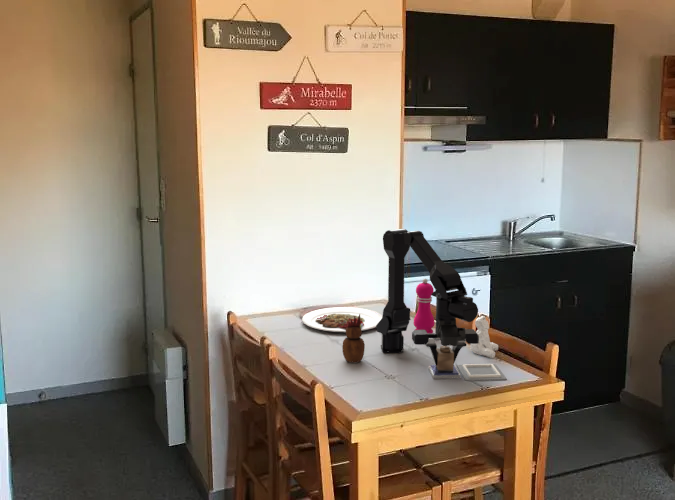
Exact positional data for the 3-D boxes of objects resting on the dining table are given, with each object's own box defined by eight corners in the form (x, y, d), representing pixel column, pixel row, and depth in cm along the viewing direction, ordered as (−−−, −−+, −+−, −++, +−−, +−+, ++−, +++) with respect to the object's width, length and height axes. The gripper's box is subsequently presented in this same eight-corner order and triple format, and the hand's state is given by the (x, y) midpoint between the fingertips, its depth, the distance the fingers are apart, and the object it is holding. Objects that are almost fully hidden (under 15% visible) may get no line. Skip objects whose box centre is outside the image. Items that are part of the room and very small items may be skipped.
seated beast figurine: (494, 358, 224) (496, 322, 222) (466, 355, 227) (468, 319, 225) (498, 349, 233) (500, 313, 230) (472, 346, 236) (473, 311, 233)
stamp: (438, 371, 209) (438, 350, 208) (435, 365, 213) (435, 345, 212) (453, 371, 209) (454, 349, 208) (450, 365, 213) (450, 344, 212)
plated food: (334, 307, 283) (334, 299, 282) (399, 320, 266) (399, 311, 265) (285, 326, 259) (285, 317, 258) (353, 341, 242) (353, 331, 241)
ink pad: (433, 378, 207) (433, 374, 207) (428, 368, 215) (428, 364, 215) (460, 378, 208) (460, 373, 207) (454, 368, 216) (455, 364, 215)
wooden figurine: (366, 359, 224) (367, 312, 221) (361, 365, 218) (361, 317, 215) (346, 356, 226) (346, 310, 223) (340, 362, 220) (340, 315, 218)
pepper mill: (410, 336, 246) (411, 279, 242) (416, 330, 252) (417, 275, 248) (431, 339, 243) (432, 281, 239) (436, 333, 250) (438, 277, 246)
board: (465, 380, 206) (465, 377, 206) (456, 366, 218) (456, 362, 217) (506, 380, 206) (506, 376, 206) (495, 365, 218) (495, 362, 218)
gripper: (418, 322, 200) (417, 375, 203) (484, 321, 200) (482, 374, 203) (412, 311, 211) (411, 361, 214) (475, 310, 211) (473, 360, 214)
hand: (444, 364), depth 211 cm, fingers closed on stamp, 4 cm apart
